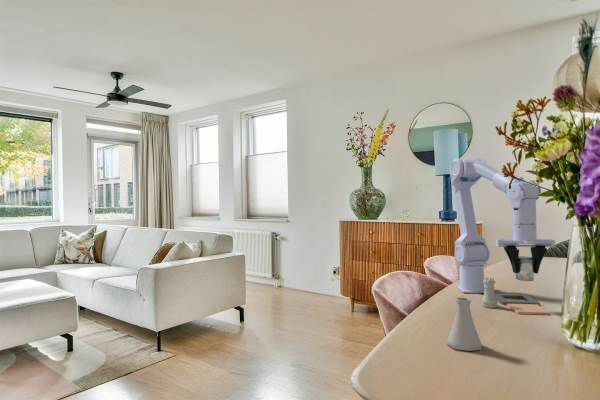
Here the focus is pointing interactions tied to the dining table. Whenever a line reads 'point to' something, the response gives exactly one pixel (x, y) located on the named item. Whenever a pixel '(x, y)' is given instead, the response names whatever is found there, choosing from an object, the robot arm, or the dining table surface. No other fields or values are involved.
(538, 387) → the dining table surface
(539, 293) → the dining table surface
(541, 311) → the tile
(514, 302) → the bore plate
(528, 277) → the glass jar
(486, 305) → the rook chess piece
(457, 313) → the flask
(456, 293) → the dining table surface
